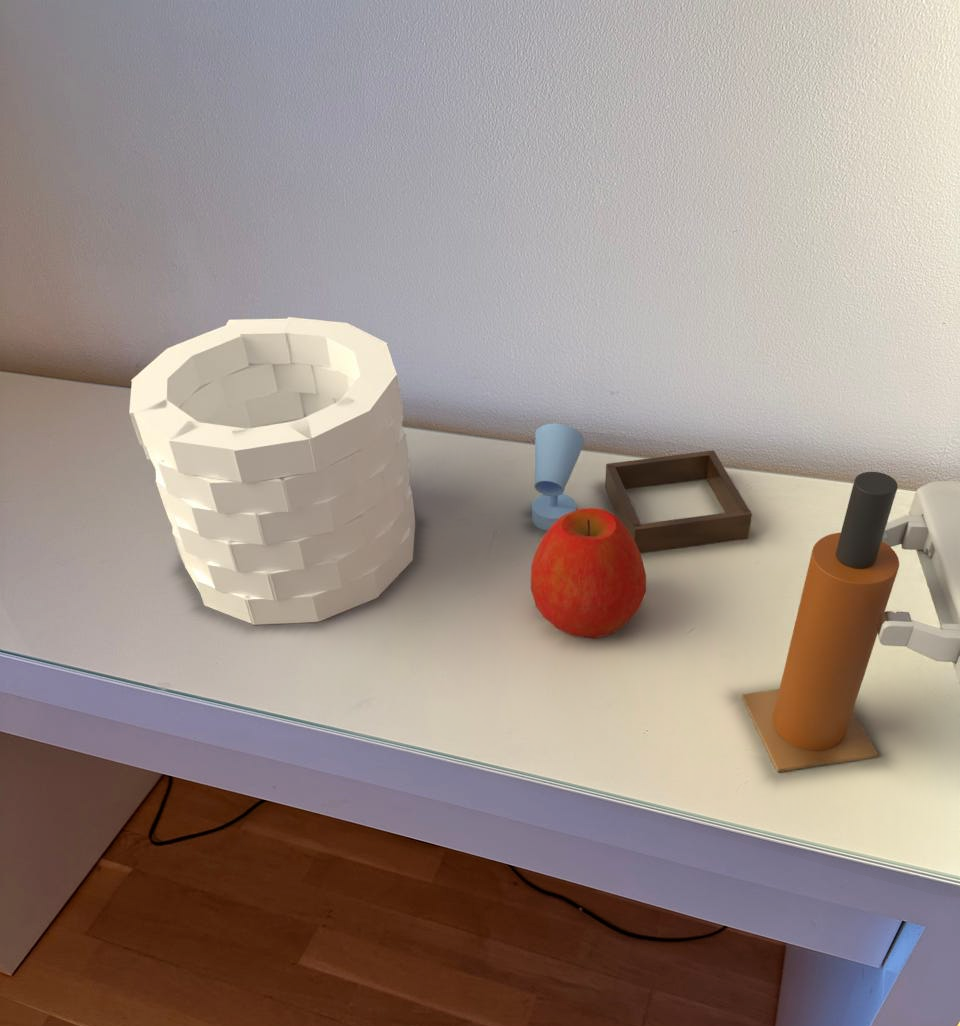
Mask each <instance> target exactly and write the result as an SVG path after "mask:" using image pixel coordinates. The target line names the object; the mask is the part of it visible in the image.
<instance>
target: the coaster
mask: <svg viewBox="0 0 960 1026" xmlns="http://www.w3.org/2000/svg"><path fill="white" fill-rule="evenodd" d="M779 689H780V688H778V689H770V690H763V691H757V692H750V693H743V694H742V695H741V699H742V701H743V703H744V705H745V707H746V710H747V711H748V714H749V716H750V718H751V720H752V722H753V725H754V727H755V728H756V730H757V733H758V735H759V737H760V739H761V741H762V743H763V746H764V747H765V749H766V751H767V753H768V756H769V758H770V759H771V762H772V764H773V766H774V768H775V770H776V772H777V773H782V772H788V771H789V772H790V771H795V770H801V769H808V768H814V767H815V768H816V767H821V766H828V765H835V764H842V763H848V762H853V761H861V760H866V759H873V758H878V755H879V753H878V751H877V750H876V748H875V746H874V744H873V743H872V741H871V739H870V737H869V735H868V734H867V733H866V731H865V729H864V727H863V726H862V723H861V722H860V720H859V719H858V717H857V715H856V713H855V711H853V712H852V715H851V718H850V721H849V724H848V728H847V731H846V734H845V736H844V738H843V740H842V741H841V742H840V743H839V744H838V745H836V746H834V747H832V748H830V749H826V750H819V751H814V750H806V749H802V748H799V747H796V746H794V745H792V744H790V743H789V742H787V741H786V740H785V739H783V738H782V737H781V736H780V735H779V733H778V732H777V730H776V729H775V726H774V723H773V714H774V710H775V706H776V702H777V698H778V693H779Z"/></svg>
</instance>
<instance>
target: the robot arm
mask: <svg viewBox="0 0 960 1026" xmlns="http://www.w3.org/2000/svg"><path fill="white" fill-rule="evenodd" d="M882 541H883V542H884V543H886V544H887V545H889V546H890V547H891V548H892V547H893V548H894V547H896V546H899V545H901V549H902V550H906V551H907V550H908V551H909V550H910V551H915V552H916V554H917V557H918V560H919V563H920V567H921V570H922V573H923V575H924V579H925V582H926V585H927V588H928V591H929V594H930V597H931V601H932V603H933V607H934V609H935V612H936V615H937V619H938V622H939V625H940V628H939V627H937V626H936V627H935V626H932V625H929V624H926V623H923V622H920V621H917V620H914V619H912V618H911V614H910V612H909V611H897V612H894V611H892V610H885V612H883V613H882V614H880V616H879V620H878V623H877V625H876V627H877V631H878V634H877V637H878V641H879V643H880V644H881V645H883V646H888V647H905V648H907V649H909V650H911V651H913V652H915V653H917V654H920V655H922V656H924V657H927V658H929V659H931V660H933V661H935V662H945V663H947V662H949V663H952V665H953V668H954V671H955V673H956V677H957V681H958V684H959V685H960V480H937V481H932V482H929V483H926V484H924V485H922V486H920V487H918V488H917V489H916V491H915V492H914V496H913V498H912V502H911V505H910V508H909V512H908V515H903V516H901V517H898V518H896V519H893V520H890V521H887V525H886V528H885V531H884V535H883V538H882Z"/></svg>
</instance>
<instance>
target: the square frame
mask: <svg viewBox="0 0 960 1026" xmlns="http://www.w3.org/2000/svg"><path fill="white" fill-rule="evenodd" d="M604 479H605V480H604V481H605V482H604V488H605V491H606V493H607V496H608V499H609V500H610V502H611V505H612V508H613V510H614V512H615V515H616V516H617V517H618V518H619V519H620V521H621V522H622V523H623V524H624V526H625V527H626V528H627V529H628V531H629V532H630V534H631V536H632V537H633V539H634V541H635V543H636V545H637V547H638V549H639V551H640V553H641V554H644V553H651V552H652V553H653V552H660V551H668V550H673V549H681V548H689V547H695V546H703V545H710V544H711V545H712V544H718V543H725V542H733V541H741V540H748V539H749V535H750V531H751V530H750V529H751V524H752V518H753V513H752V511H751V510H750V508H749V506H748V504H747V503H746V501H745V500H744V498H743V496H742V495H741V493H740V491H739V489H738V488H737V486H736V485H735V483H734V481H733V480H732V478H731V477H730V475H729V473H728V471H727V469H726V468H725V467H724V465H723V463H722V461H721V460H720V458H719V457H718V455H717V453H716V452H715V450H713V449H712V450H711V449H710V450H704V451H703V450H702V451H696V452H689V453H687V452H686V453H681V454H671V455H666V456H656V457H649V458H641V459H633V460H626V461H618V462H617V461H616V462H610V463H609V462H608V463H606V464H605V478H604ZM699 480H706V482H707V484H708V486H709V487H710V488H711V490H712V492H713V494H714V496H715V498H716V499H717V501H718V502H719V504H720V507H721V508H722V510H723V511H724V512H720V513H713V514H705V515H698V516H697V515H696V516H690V517H689V516H688V517H682V518H675V519H674V518H673V519H668V520H661V521H653V522H645V523H641V521H640V519H639V517H638V514H637V512H636V510H635V508H634V505H633V503H632V501H631V499H630V497H629V495H628V491H627V490H631V489H638V488H645V487H646V488H647V487H651V486H652V487H653V486H660V485H668V484H676V483H677V484H678V483H684V482H691V481H699Z"/></svg>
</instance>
